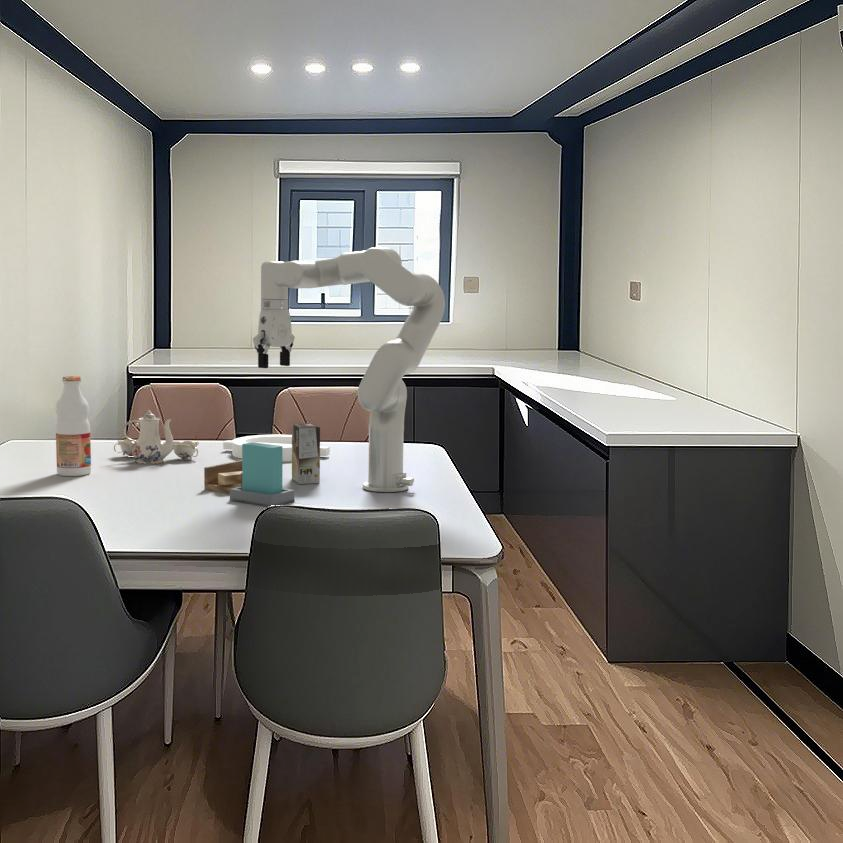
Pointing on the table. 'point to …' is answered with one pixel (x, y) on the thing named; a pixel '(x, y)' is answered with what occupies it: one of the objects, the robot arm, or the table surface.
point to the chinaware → (154, 442)
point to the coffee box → (306, 453)
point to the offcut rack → (212, 475)
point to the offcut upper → (229, 478)
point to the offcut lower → (231, 485)
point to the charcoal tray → (262, 497)
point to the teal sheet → (262, 468)
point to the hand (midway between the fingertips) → (274, 366)
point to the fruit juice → (73, 430)
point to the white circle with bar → (268, 439)
